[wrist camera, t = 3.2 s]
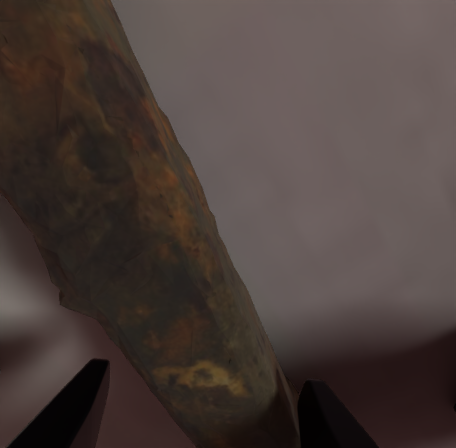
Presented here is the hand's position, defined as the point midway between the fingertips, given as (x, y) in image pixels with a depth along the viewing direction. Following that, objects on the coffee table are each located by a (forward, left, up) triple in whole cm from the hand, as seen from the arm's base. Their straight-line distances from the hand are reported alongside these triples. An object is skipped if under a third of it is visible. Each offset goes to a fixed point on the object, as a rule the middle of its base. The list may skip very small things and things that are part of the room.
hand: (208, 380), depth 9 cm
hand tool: (0, -1, -3) cm, 3 cm away
